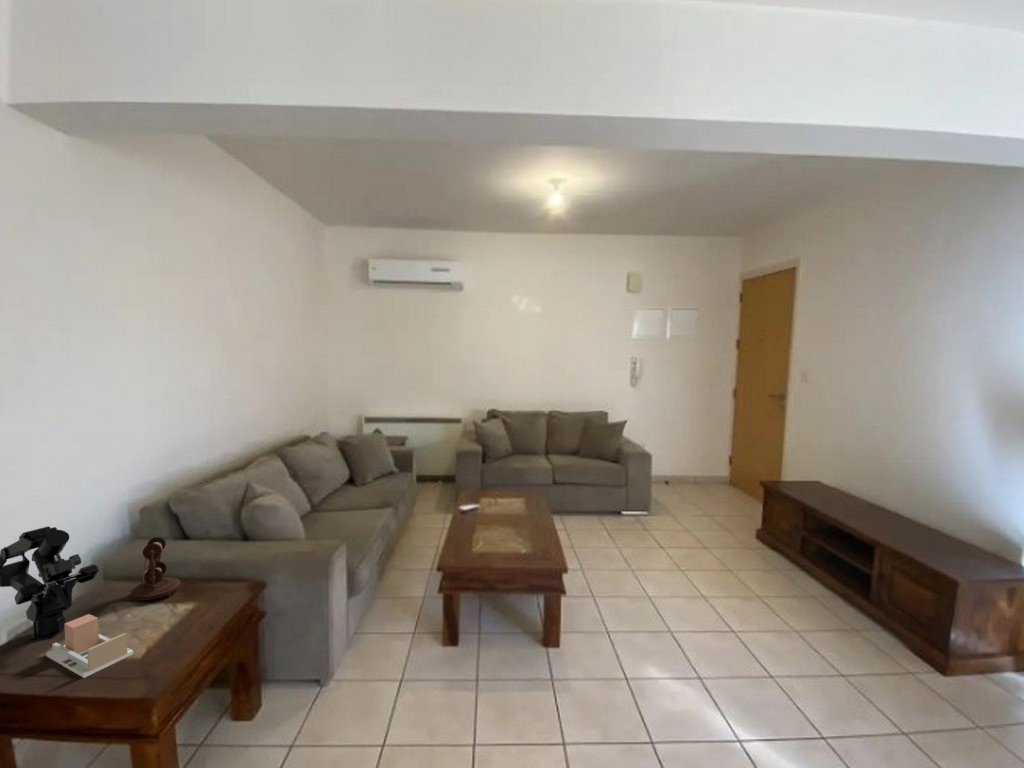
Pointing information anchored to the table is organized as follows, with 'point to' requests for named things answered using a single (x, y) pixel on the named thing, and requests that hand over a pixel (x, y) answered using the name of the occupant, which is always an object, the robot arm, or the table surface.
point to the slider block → (81, 633)
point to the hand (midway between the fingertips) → (69, 607)
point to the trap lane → (92, 655)
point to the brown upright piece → (154, 574)
